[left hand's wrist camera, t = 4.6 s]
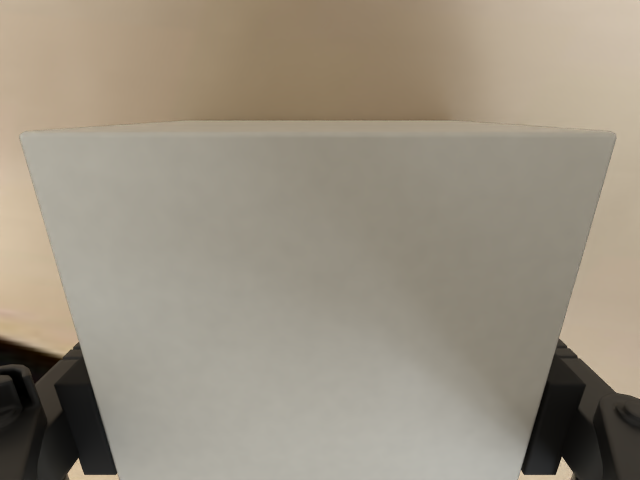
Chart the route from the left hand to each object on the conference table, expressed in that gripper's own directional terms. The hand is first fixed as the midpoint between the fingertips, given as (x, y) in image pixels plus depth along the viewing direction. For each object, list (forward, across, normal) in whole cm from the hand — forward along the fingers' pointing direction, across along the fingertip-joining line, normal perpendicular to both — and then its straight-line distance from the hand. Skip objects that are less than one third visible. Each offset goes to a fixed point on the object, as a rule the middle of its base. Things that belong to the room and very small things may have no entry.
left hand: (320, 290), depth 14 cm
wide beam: (+1, 0, -35) cm, 35 cm away
